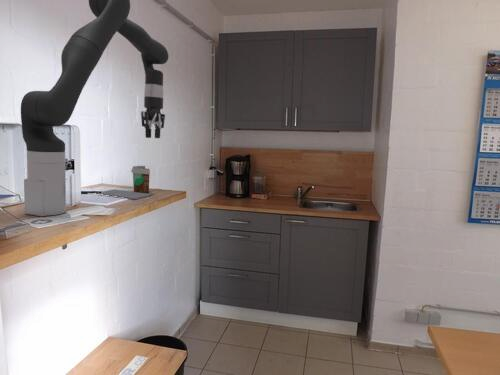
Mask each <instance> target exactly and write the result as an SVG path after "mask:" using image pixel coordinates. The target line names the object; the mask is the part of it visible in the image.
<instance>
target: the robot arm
mask: <svg viewBox="0 0 500 375" xmlns="http://www.w3.org/2000/svg"><path fill="white" fill-rule="evenodd" d="M88 6H89V8H90V11H91V13H92V14H93V15H94V16H95V17H96V18H95V19H93V20H92V21H90V22H88V23H87V24H86V23H85V25H83V26H82V27H80V28H79V29H77V30H76V31H75V32H73V34H72V35H71V36H70V38H69V39H68V40H67V41H66V44H65V45H64V47H63V48H62V51H61V55H60V58H61V61H60V63H61V73H60V77H59V78H58V79H57V81H56V82H55V84H54V86H52V87H51V89H50V90H32V91H29V92H27V93H26V94H24V96H23V97H22V99H21V102H20V120H21V122H20V123H21V133H22V134H21V135H22V139H23V141H24V143H25V146H26V172H27V174H26V177H27V178H25V179H24V180H23V189H24V190H23V192H24V193H23V195H24V214H25V215H31V216H38V217H44V216H55V215H61V214H65V213H66V211H67V207H66V205H67V198H66V196H67V195H66V192H67V191H66V189H67V188H66V185H67V184H66V143H65V141H63V140H62V139H60V138H59V137H58V136H57V135H56V134H55V132H54V127H61V126H63V125H65V124H67V122H68V121H69V120H70V118H72V115H73V113H74V111H75V108H76V105H77V103H78V101H79V98H80V96H81V94H82V91H83V89H84V88H85V86H86V84H87V82H88V80H89V78H90V76H91V75H92V73H93V71H94V69H95V68H96V67H97V65H98V63H99V62H100V59H101V58H102V56H103V54H104V51H105V50H106V48H108V45H109V44H110V42H111V40H112V39H113V37H114V36H115V34H116V33H118V34H119V35H120V36H122V37H123V38H125V39H126V40H127V41H128V42H130V44H131V45H132V46H133V47H134V48H135V49H136V50H137V51H138V52H140V55H141V60H142V65H143V70H144V73H145V76H144V77H145V79H144V80H145V81H144V82H145V83H144V84H145V85H144V96H143V97H144V99H143V100H144V101H143V107H144V108H145V109H146V110H145V111H143V110H142V111H141V112H140V115H141V126H142V127H144V129H145V131H144V132H145V138H146V139H151V138H152V127H153V125H154V138H155V139H160V138H161V130H162V129H164V128H165V120H166V114H164V113H162V112H161V110H163V109H164V73H163V71H161V70H158V69H155V67H154V65H164V64H167V62H168V61H169V52H168V50H167V48H166V47H165V45H163V44H162V43H161V42H159V41H157V40H156V39H154V38H153V37H151V35H150V34H149V33H148V32H147V30H145V29H144V28H143V27H142V26H141V25H140V24H138V23H136V22H134V21H133V20H131V19H128V17H129V14H130V10H131V0H88Z"/></svg>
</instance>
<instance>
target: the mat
mask: <svg viewBox="0 0 500 375" xmlns="http://www.w3.org/2000/svg"><path fill="white" fill-rule="evenodd" d="M100 192H101V193H96V192H95V193H96V194H103V195H109V196H108V197H110V196H117V197H124V198H123V199H125V198H127V199H126V200H134V201H135V200H139V199H144V198H149V197H153V196H154V193H149V194H148V193H140V192H134V191H132V190H131V191H129V190H123V189H116V188H115V189H109V190H101V191H100ZM117 197H116V198H117Z"/></svg>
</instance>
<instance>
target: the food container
mask: <svg viewBox="0 0 500 375" xmlns="http://www.w3.org/2000/svg"><path fill="white" fill-rule="evenodd" d="M131 173H132V181H133V192H140V193H148V194H150V174H151V170H150V168H146V166H145V165H134V166H132V168H131Z"/></svg>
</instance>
